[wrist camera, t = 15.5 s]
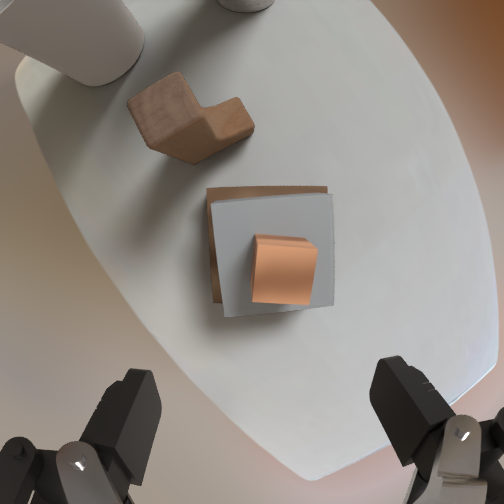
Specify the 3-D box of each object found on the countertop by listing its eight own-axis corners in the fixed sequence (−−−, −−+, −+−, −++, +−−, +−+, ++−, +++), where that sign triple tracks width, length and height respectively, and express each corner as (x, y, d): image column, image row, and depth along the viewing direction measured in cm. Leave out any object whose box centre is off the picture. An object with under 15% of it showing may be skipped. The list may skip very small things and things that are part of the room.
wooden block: (238, 105, 32) (235, 40, 15) (254, 133, 33) (266, 87, 16) (178, 137, 33) (123, 101, 16) (193, 166, 34) (147, 150, 17)
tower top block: (215, 200, 31) (210, 203, 26) (319, 192, 31) (332, 194, 26) (227, 298, 34) (224, 317, 29) (322, 288, 34) (334, 305, 29)
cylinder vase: (147, 13, 28) (86, -84, 3) (145, 74, 31) (49, -21, 6) (80, 37, 27) (-6, -25, 3) (73, 98, 30) (-43, 55, 6)
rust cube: (254, 233, 27) (257, 244, 22) (304, 237, 27) (318, 249, 22) (250, 281, 28) (252, 301, 23) (298, 285, 28) (309, 304, 24)
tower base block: (211, 187, 35) (206, 188, 31) (316, 185, 36) (327, 186, 31) (216, 288, 39) (213, 303, 34) (314, 284, 39) (323, 298, 34)
